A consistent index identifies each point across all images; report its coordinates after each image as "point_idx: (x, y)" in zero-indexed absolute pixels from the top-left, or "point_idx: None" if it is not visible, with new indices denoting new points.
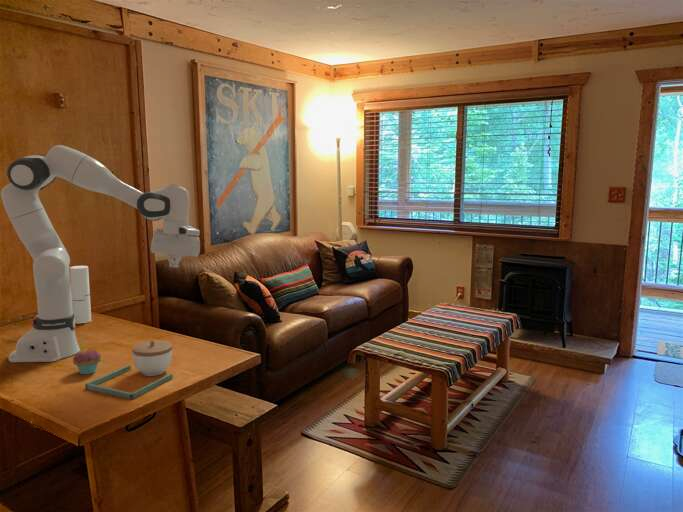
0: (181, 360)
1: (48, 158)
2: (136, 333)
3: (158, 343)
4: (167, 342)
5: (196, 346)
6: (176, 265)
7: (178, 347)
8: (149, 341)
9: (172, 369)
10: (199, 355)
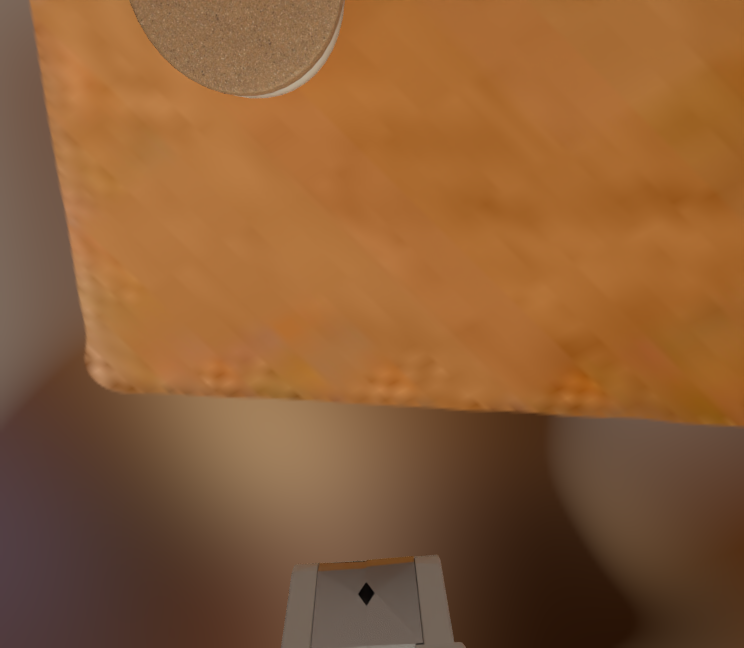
0: (280, 195)
1: None
2: (702, 343)
3: (237, 24)
4: (216, 74)
5: (354, 348)
6: (292, 609)
7: (409, 304)
8: (312, 25)
9: None
10: (264, 277)
